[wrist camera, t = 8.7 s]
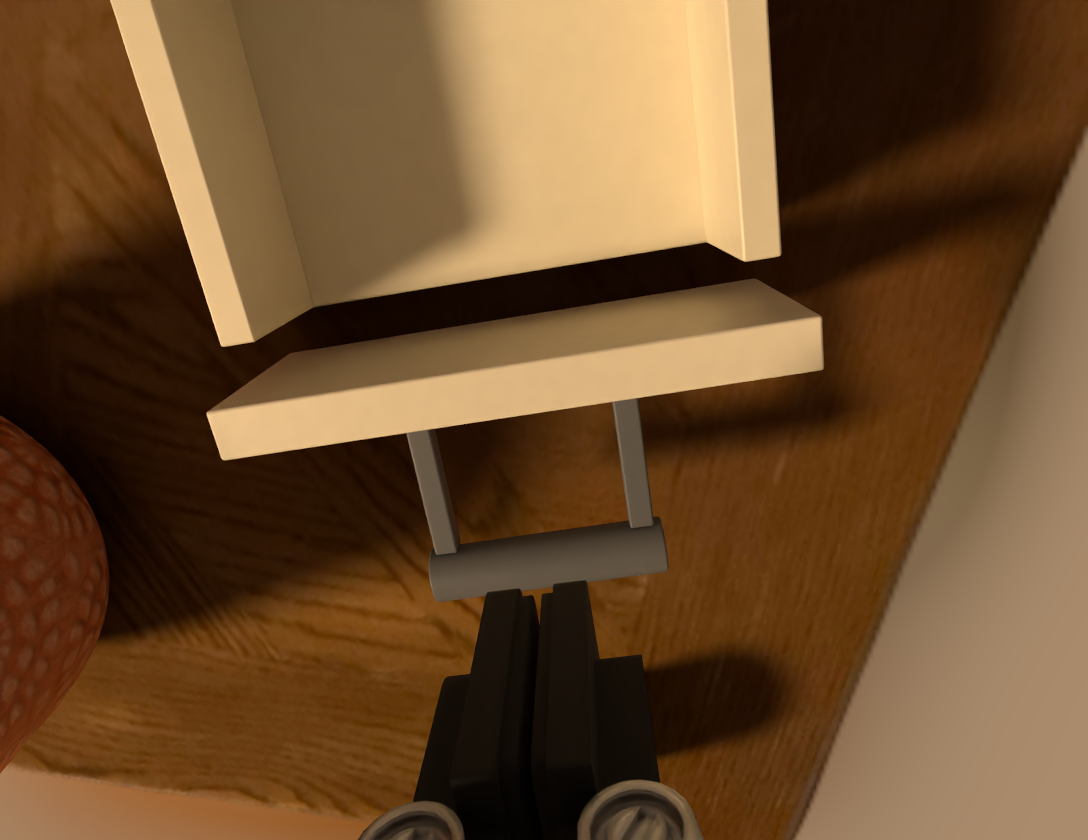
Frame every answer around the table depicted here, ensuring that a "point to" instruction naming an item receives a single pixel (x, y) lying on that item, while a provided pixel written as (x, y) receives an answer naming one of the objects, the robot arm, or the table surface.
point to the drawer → (473, 221)
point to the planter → (43, 585)
